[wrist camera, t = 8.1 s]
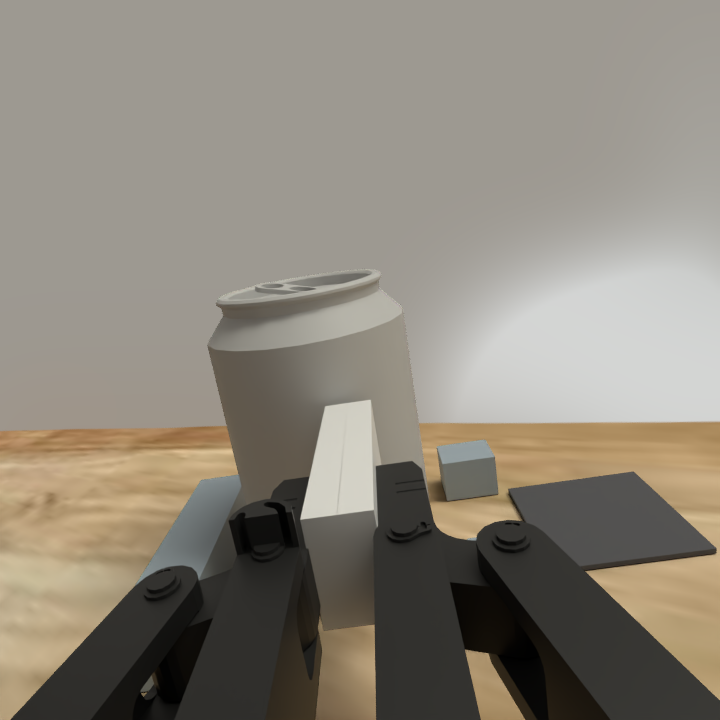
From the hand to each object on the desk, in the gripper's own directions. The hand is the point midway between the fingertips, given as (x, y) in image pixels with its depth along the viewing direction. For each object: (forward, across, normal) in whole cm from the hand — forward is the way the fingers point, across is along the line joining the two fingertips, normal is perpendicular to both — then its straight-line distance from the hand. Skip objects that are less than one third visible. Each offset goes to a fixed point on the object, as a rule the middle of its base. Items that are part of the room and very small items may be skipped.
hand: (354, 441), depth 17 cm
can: (+4, -1, -7) cm, 8 cm away
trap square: (+4, +9, -7) cm, 12 cm away
